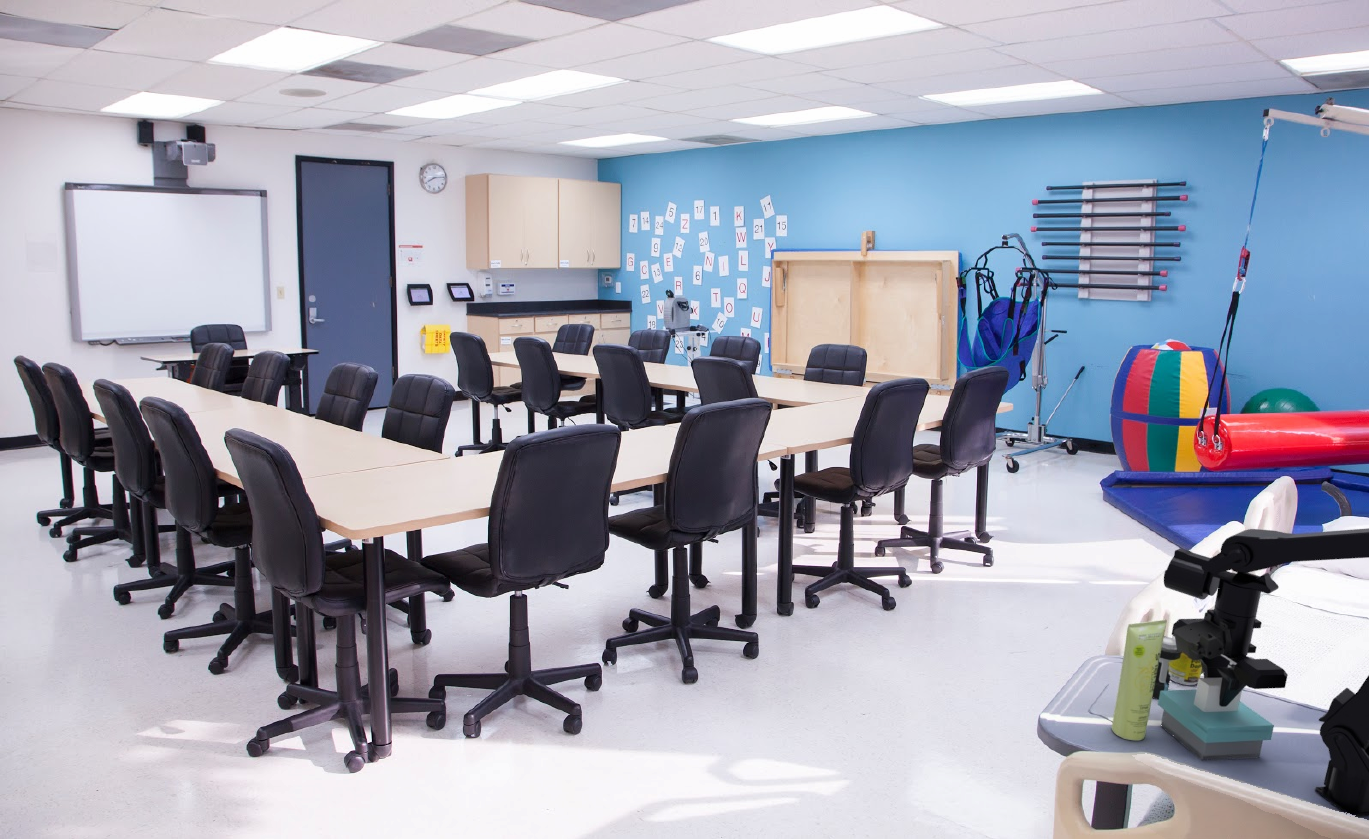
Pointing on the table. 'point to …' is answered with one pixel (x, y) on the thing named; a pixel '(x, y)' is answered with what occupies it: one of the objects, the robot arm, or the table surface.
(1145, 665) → the tube
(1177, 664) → the supplement bottle
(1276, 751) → the table surface
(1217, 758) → the storage box
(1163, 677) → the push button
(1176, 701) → the lid
